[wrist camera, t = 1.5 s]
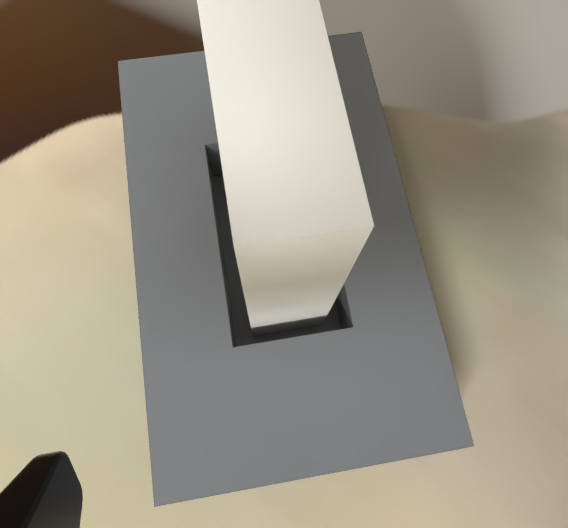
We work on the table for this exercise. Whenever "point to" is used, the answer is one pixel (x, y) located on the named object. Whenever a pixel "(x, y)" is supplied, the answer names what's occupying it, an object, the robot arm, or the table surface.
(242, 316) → the holder box
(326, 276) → the white flat block
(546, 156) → the table surface
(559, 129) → the table surface
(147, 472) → the table surface
